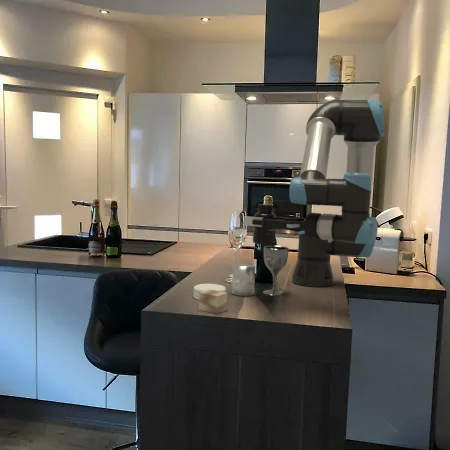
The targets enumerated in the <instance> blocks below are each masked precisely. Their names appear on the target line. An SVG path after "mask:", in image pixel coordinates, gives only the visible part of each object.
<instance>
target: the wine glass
mask: <svg viewBox="0 0 450 450" xmlns="http://www.w3.org/2000/svg"><path fill="white" fill-rule="evenodd" d="M288 257H289V247H287V246H284V245H265V246H264V247H263V260H264V264H265V266H266V267H267V268H268V270H269V271H270V273H271V274H272V282H273V283H272V288H271V289H267V290H263V291H262V293H263V294H264V295H268V296H274V297H275V296H284V295H285V294H286V293H285V292H284V291H281V290H277V289H276V285H277V284H276V283H277V277H278V276H279V273H281V271H282V270H283V269H284V268H285V267H286V265H287V262H288Z"/></svg>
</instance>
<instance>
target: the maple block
mask: <svg viewBox="0 0 450 450" xmlns="http://www.w3.org/2000/svg"><path fill="white" fill-rule="evenodd" d="M198 303H199V304H198V310H199V311H203V312H208V313H210V314H211V313H212V314H217V315H218V314H220V313H222V312H224V311H228V308H227V307H228V292H227V291H225V292H221V291H215V290H210V289H209V290H206V291H203V292H200V296H199V300H198Z"/></svg>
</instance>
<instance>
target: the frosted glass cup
mask: <svg viewBox="0 0 450 450" xmlns="http://www.w3.org/2000/svg"><path fill="white" fill-rule="evenodd" d="M255 277H256V265H254V264H248V263H236V264H235V263H234V264H233V268H232V282H231V283H232V285H231V294H232V295H236V296H240V297H241V296H242V297H250V296H253V295H254V292H255V279H256V278H255Z"/></svg>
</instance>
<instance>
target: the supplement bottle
mask: <svg viewBox="0 0 450 450" xmlns="http://www.w3.org/2000/svg"><path fill="white" fill-rule="evenodd" d="M274 210H275V209H274V204H268V203H267V204H266V203H258V204H257V211H258V212H256V213H255V214H254V216H253V217H260V218H263V216H265V219H276V217H277V215H276V214H275V213H274ZM252 229H253V231H252V242H253V244H257V245H265V246H272V245H274V244H275V242H276V231H277V229H272V228H261V227H257V226H252Z"/></svg>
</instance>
